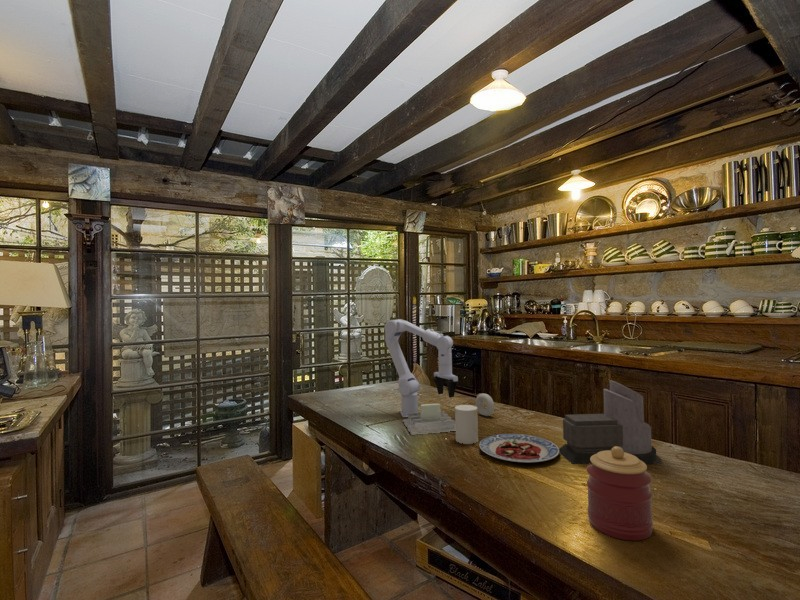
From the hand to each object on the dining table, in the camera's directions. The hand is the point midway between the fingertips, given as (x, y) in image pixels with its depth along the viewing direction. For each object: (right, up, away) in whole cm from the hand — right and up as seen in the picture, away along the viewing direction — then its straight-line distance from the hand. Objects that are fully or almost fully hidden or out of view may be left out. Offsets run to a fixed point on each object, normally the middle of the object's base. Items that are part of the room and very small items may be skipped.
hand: (445, 395), depth 175 cm
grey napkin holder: (+48, -9, -44) cm, 66 cm away
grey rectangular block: (-7, -10, -9) cm, 15 cm away
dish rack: (-7, -11, -9) cm, 16 cm away
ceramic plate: (+20, -10, -39) cm, 45 cm away
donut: (+18, -10, +4) cm, 21 cm away
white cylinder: (+5, -10, -27) cm, 29 cm away
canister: (+29, -9, -84) cm, 90 cm away
